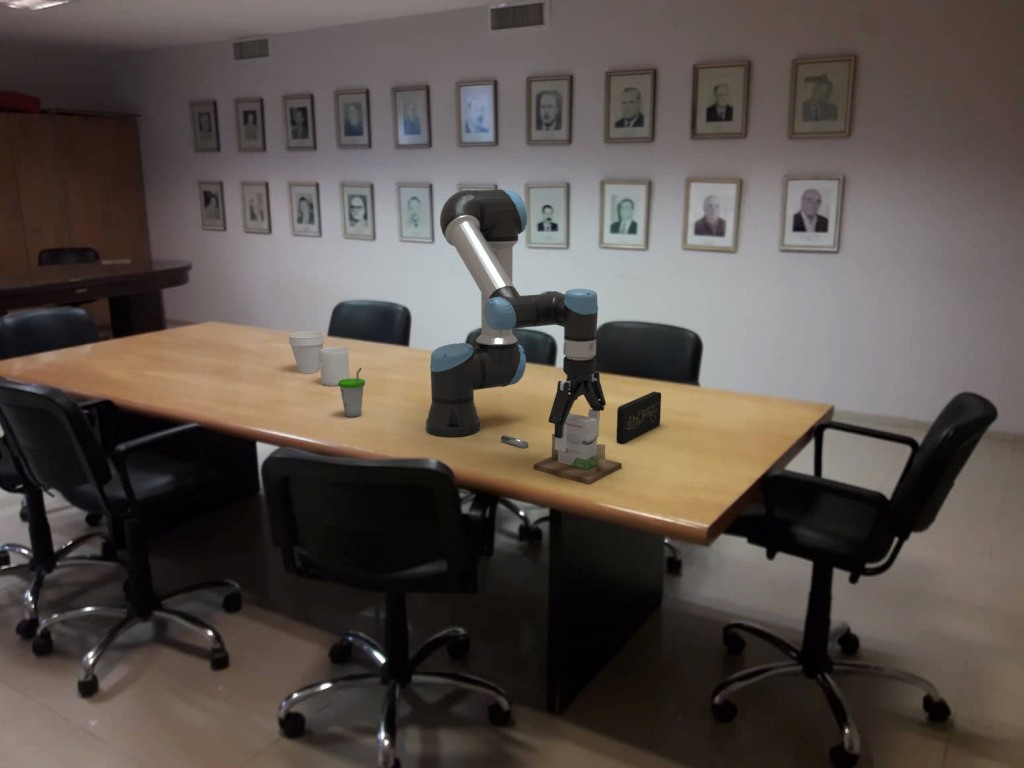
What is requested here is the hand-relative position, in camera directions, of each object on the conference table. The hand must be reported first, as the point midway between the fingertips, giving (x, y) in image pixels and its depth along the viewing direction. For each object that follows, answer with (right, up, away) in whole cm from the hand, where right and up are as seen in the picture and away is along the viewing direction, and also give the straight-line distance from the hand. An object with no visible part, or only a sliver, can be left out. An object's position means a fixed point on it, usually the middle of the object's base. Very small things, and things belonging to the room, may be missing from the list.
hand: (577, 443), depth 194 cm
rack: (0, -6, +1) cm, 6 cm away
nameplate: (+19, 0, +27) cm, 33 cm away
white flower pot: (-89, +18, +99) cm, 134 cm away
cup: (-62, +5, +45) cm, 77 cm away
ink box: (0, -5, +1) cm, 5 cm away
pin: (-14, -1, +19) cm, 24 cm away
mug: (-77, +14, +83) cm, 114 cm away
